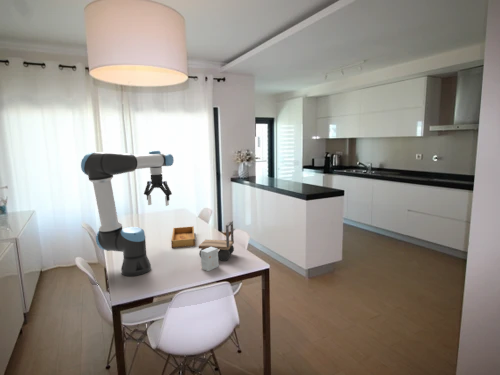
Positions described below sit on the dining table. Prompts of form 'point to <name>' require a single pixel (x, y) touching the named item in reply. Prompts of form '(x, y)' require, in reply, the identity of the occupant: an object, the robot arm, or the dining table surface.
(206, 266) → the small box
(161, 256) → the dining table surface
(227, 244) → the trolley
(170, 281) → the dining table surface
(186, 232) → the tray
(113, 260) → the dining table surface
